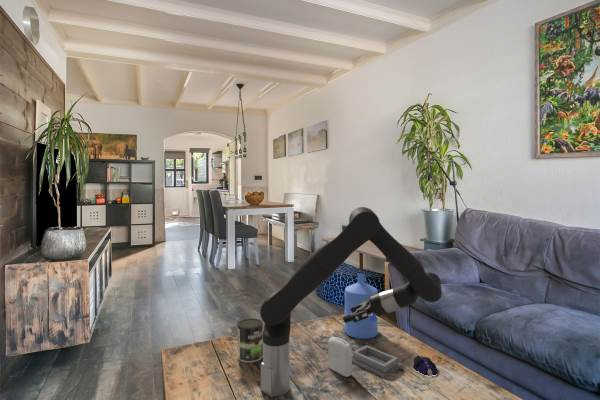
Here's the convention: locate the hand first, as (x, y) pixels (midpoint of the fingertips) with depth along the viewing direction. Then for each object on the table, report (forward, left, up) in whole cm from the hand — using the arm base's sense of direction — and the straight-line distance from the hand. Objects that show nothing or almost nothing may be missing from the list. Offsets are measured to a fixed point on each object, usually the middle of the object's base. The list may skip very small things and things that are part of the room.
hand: (347, 315), depth 133 cm
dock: (+12, -4, -22) cm, 25 cm away
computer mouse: (+24, -17, -22) cm, 37 cm away
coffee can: (-21, +34, -22) cm, 46 cm away
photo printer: (-2, +2, -22) cm, 22 cm away
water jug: (+31, +18, -22) cm, 42 cm away
